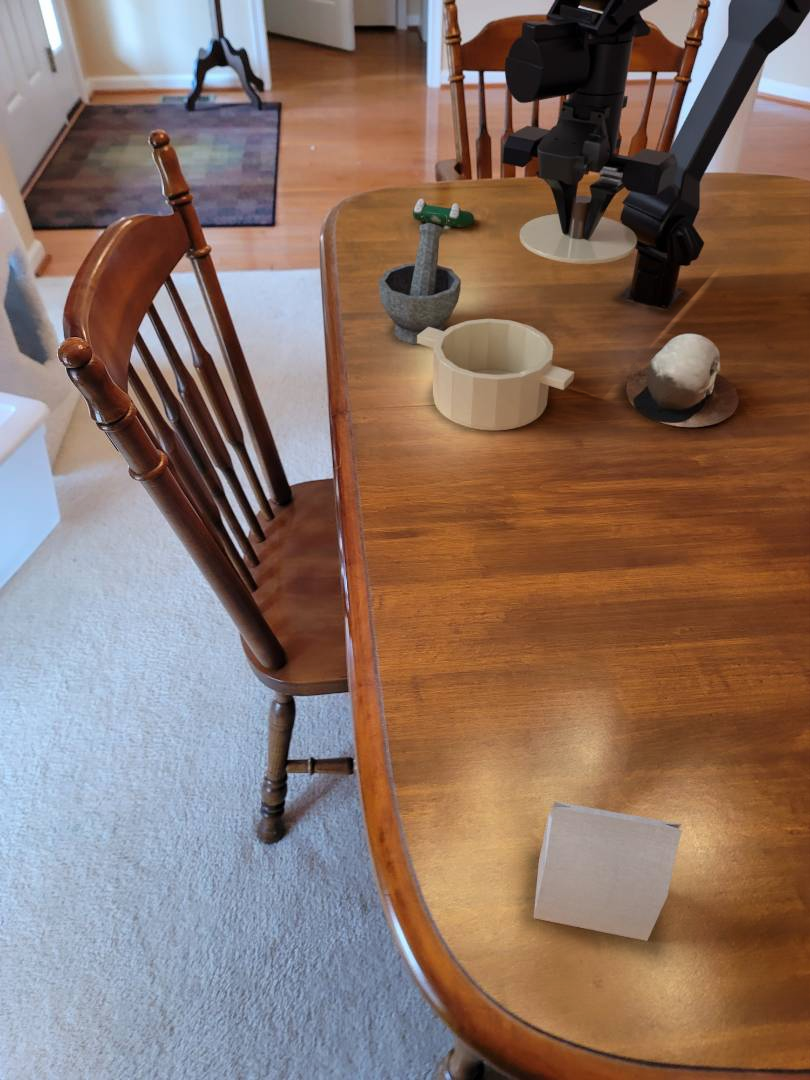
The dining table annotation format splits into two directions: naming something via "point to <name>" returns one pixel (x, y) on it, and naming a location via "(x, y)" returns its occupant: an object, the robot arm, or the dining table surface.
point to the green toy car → (442, 215)
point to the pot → (492, 373)
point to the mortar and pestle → (420, 290)
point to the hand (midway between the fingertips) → (576, 235)
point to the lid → (578, 237)
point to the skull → (684, 385)
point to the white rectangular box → (605, 870)
